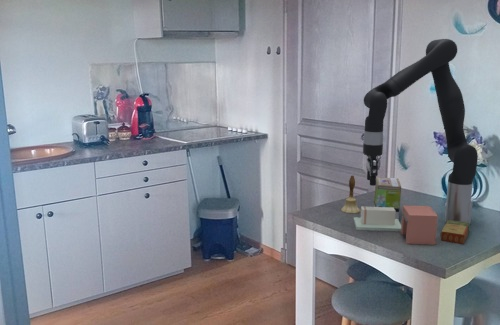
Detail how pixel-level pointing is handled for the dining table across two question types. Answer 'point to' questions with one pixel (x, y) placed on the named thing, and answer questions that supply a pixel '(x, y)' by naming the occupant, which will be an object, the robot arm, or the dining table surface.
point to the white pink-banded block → (378, 215)
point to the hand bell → (351, 200)
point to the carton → (455, 232)
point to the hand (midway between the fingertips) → (371, 182)
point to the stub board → (377, 226)
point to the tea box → (388, 193)
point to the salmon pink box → (419, 224)
